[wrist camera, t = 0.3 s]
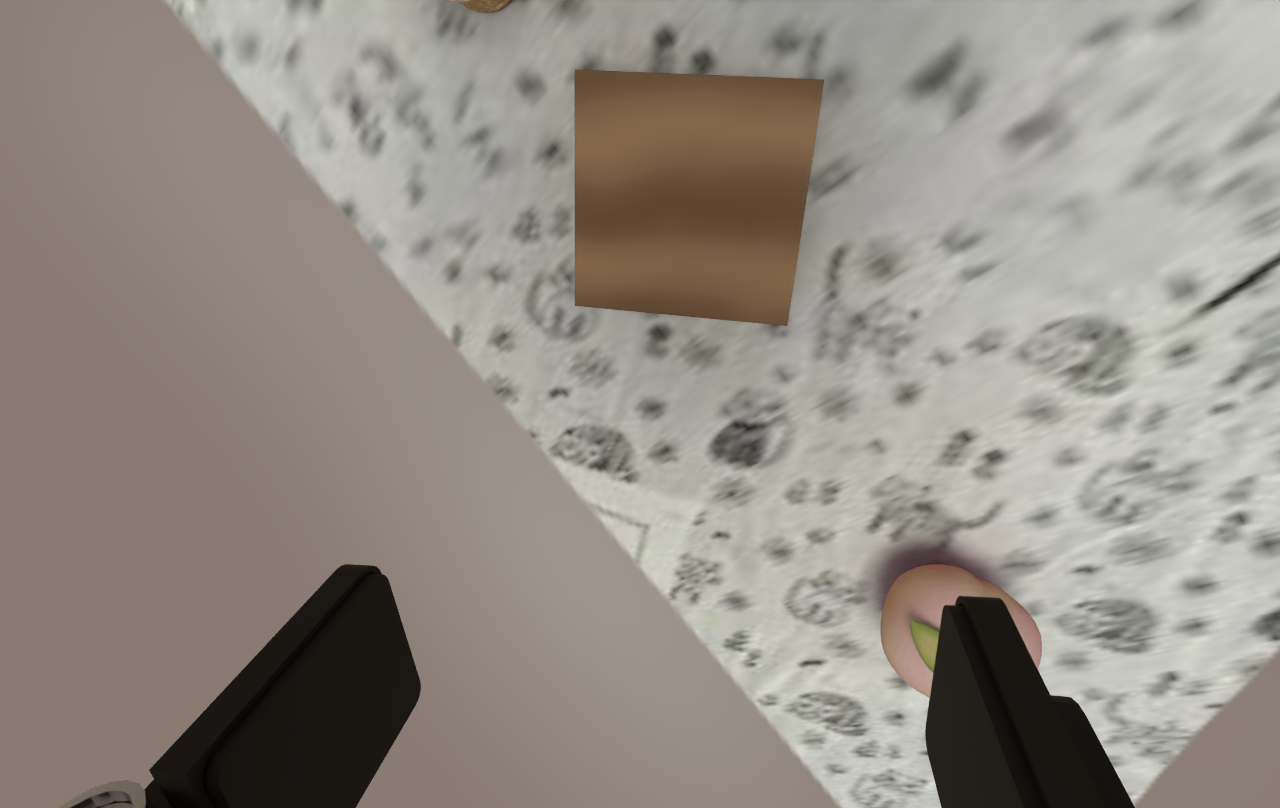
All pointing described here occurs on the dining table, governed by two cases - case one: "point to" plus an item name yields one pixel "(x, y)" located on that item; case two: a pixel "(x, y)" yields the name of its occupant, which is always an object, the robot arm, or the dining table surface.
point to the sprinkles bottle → (484, 4)
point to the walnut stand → (691, 192)
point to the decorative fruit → (936, 618)
